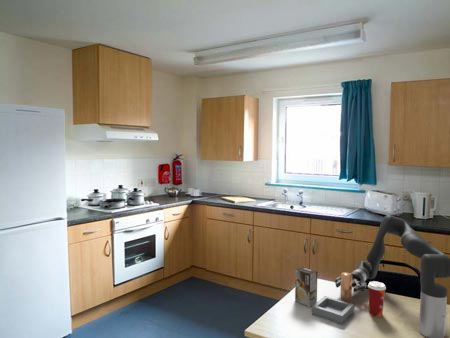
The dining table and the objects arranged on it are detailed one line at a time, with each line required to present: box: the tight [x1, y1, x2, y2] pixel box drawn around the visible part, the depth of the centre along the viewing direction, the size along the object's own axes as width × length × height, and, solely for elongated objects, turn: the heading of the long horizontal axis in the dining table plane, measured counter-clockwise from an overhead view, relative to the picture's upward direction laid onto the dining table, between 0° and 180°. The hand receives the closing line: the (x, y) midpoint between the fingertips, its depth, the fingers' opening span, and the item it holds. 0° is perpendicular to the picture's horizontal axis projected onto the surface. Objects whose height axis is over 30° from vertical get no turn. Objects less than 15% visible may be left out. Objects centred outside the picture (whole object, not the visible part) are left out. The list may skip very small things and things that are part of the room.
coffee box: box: [294, 266, 318, 308], centre depth 174 cm, size 9×6×16 cm
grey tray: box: [311, 295, 355, 325], centre depth 163 cm, size 14×14×4 cm
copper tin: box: [339, 271, 353, 304], centre depth 175 cm, size 5×5×14 cm
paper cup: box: [367, 280, 387, 317], centre depth 163 cm, size 8×8×14 cm
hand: (345, 287), depth 174 cm, fingers open, 8 cm apart
